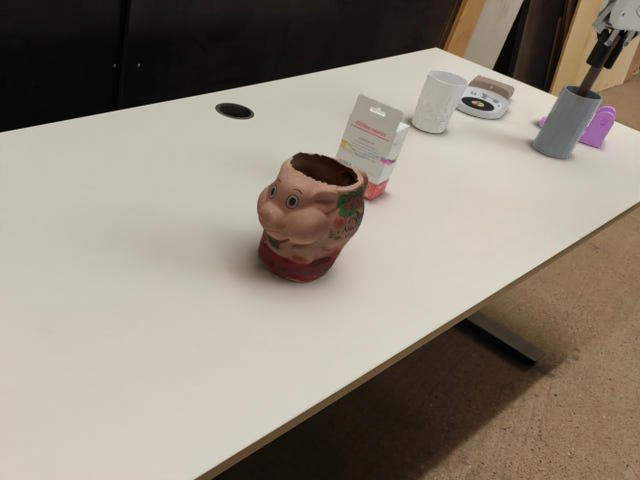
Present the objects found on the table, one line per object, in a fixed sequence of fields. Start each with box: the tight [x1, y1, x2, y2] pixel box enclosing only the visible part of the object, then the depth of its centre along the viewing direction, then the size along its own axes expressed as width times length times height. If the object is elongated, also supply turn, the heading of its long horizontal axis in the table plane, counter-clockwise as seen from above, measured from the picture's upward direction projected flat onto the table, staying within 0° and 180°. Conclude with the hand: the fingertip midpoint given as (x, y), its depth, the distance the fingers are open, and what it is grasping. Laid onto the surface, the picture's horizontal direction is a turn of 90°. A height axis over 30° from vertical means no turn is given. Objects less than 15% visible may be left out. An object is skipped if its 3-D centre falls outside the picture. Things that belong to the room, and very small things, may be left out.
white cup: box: [411, 69, 469, 134], centre depth 135 cm, size 8×8×10 cm
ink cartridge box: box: [335, 93, 411, 201], centre depth 108 cm, size 9×5×15 cm, turn 47°
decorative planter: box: [256, 151, 368, 283], centre depth 89 cm, size 20×12×14 cm, turn 135°
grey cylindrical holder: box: [532, 84, 604, 160], centre depth 134 cm, size 7×7×12 cm
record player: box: [456, 74, 516, 120], centre depth 152 cm, size 12×3×20 cm
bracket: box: [538, 105, 617, 149], centre depth 145 cm, size 13×6×7 cm, turn 59°
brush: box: [576, 35, 621, 98], centre depth 128 cm, size 4×4×16 cm
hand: (598, 65), depth 127 cm, fingers closed on brush, 2 cm apart
